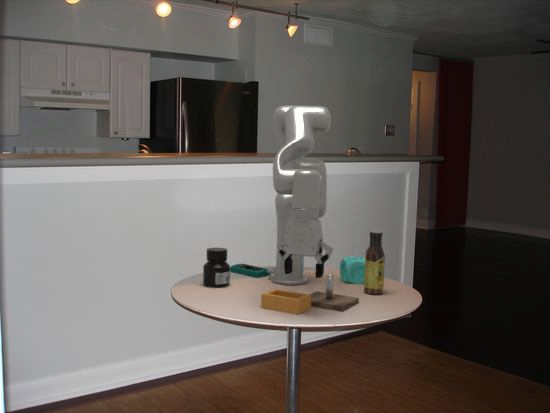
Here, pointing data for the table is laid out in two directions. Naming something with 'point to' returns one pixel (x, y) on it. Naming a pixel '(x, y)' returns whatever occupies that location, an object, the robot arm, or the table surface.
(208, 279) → the ink bottle
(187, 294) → the table surface
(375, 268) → the sauce bottle
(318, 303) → the plate
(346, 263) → the decorative dice
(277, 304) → the link
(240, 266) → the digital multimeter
